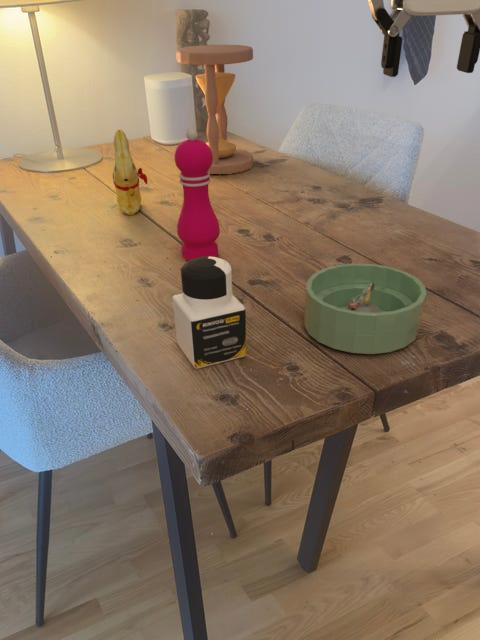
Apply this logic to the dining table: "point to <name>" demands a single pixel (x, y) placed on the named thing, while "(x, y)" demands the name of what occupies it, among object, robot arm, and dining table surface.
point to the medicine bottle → (209, 313)
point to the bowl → (364, 327)
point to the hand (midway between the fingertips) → (427, 73)
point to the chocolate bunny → (126, 176)
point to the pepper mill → (196, 199)
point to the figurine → (364, 302)
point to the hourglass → (219, 101)
